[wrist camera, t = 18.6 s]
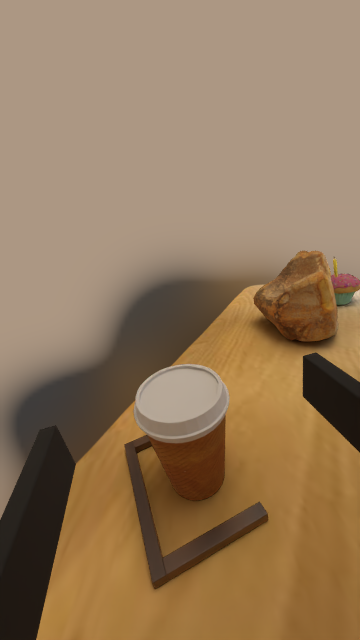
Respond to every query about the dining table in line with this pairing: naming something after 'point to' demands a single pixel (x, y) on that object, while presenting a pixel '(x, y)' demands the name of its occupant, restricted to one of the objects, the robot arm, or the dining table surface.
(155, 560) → the walnut frame
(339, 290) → the cupcake
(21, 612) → the robot arm
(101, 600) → the dining table surface
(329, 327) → the rough brown rock
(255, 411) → the dining table surface
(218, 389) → the disposable coffee cup
